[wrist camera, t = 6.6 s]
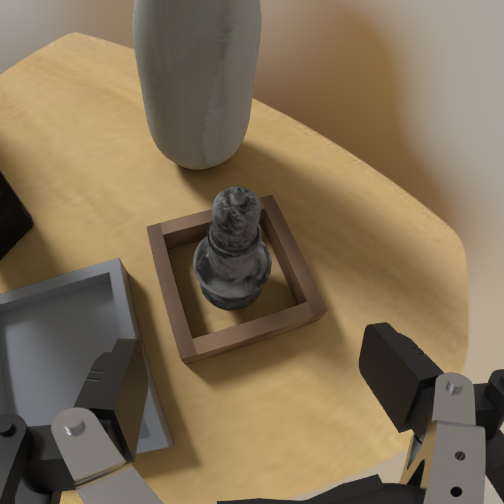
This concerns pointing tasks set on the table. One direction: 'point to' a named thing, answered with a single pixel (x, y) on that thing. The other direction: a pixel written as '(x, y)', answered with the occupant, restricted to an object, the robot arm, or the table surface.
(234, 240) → the dark grey chess piece
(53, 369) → the grey tray
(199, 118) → the glass bottle
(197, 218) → the walnut collar
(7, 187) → the portable radio
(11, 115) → the table surface
